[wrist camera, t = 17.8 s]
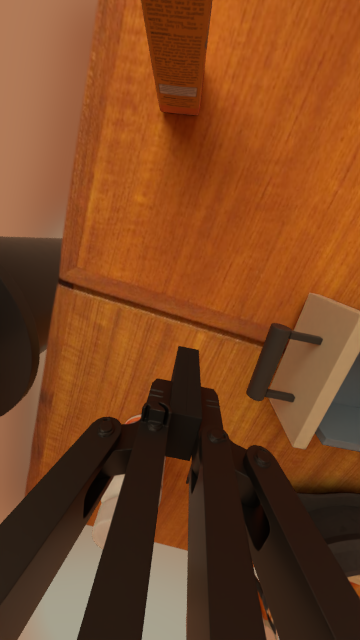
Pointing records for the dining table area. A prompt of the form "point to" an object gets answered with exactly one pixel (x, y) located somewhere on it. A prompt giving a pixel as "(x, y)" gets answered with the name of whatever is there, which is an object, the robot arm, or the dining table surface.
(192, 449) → the robot arm
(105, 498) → the pill bottle
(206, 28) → the supplement box
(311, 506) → the casserole
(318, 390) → the drawer
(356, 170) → the dining table surface
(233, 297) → the dining table surface
